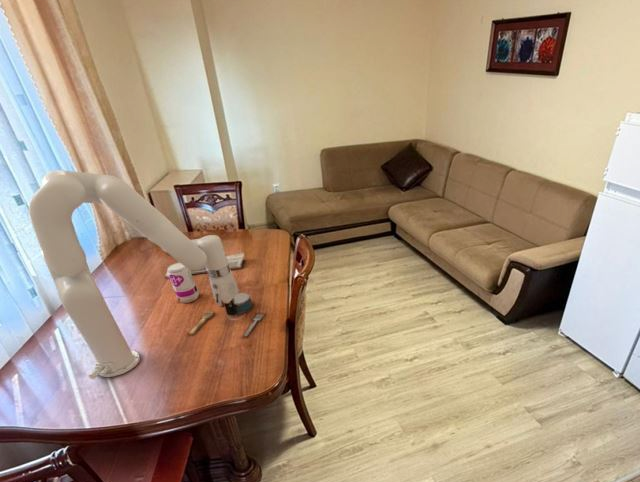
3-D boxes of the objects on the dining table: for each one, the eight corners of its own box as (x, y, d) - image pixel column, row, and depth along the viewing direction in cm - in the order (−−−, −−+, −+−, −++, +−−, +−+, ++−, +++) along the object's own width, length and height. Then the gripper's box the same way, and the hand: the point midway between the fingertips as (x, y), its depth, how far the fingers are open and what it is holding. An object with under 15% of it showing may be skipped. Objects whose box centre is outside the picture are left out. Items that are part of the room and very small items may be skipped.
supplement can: (192, 304, 159) (179, 271, 150) (174, 303, 161) (161, 270, 152) (203, 294, 165) (191, 262, 157) (186, 293, 167) (174, 261, 159)
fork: (248, 337, 137) (248, 335, 137) (241, 336, 137) (241, 335, 137) (264, 314, 149) (263, 313, 148) (257, 314, 149) (257, 313, 149)
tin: (246, 314, 149) (243, 304, 147) (224, 314, 151) (221, 303, 148) (256, 302, 157) (253, 292, 154) (235, 302, 158) (232, 292, 156)
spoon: (196, 334, 140) (195, 332, 139) (186, 334, 141) (185, 332, 140) (215, 313, 152) (214, 311, 151) (206, 313, 152) (205, 311, 152)
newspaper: (166, 278, 180) (163, 271, 178) (173, 267, 191) (170, 260, 189) (243, 268, 185) (241, 261, 183) (246, 258, 195) (244, 251, 193)
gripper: (218, 280, 131) (232, 325, 141) (237, 261, 143) (249, 304, 153) (197, 280, 132) (213, 324, 142) (219, 261, 144) (232, 303, 154)
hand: (232, 313), depth 147 cm, fingers closed
